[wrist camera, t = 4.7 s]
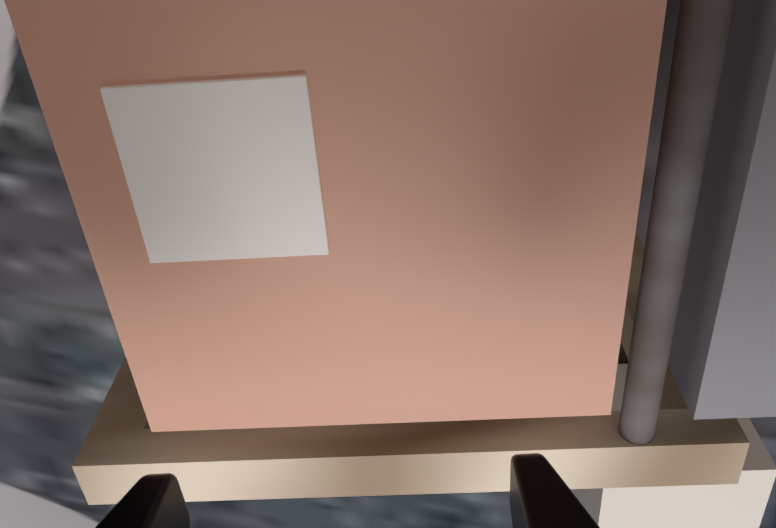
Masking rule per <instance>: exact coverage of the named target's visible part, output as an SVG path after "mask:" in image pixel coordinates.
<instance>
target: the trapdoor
mask: <svg viewBox="0 0 776 528" xmlns="http://www.w3.org/2000/svg"><path fill="white" fill-rule="evenodd" d="M5 3H6V6H7V9H8V12H9V15H10V17H11V21H12V24H13V27H14V30H15V32H16V35H17V38H18V41H19V44H20V47H21V50H22V53H23V56H24V59H25V62H26V65H27V68H28V71H29V74H30V77H31V79H32V82H33V85H34V88H35V91H36V94H37V97H38V100H39V103H40V106H41V109H42V112H43V115H44V118H45V121H46V124H47V126H48V129H49V132H50V135H51V138H52V141H53V144H54V147H55V150H56V153H57V156H58V159H59V162H60V165H61V168H62V171H63V173H64V176H65V179H66V182H67V185H68V188H69V191H70V194H71V197H72V200H73V203H74V206H75V209H76V212H77V215H78V218H79V220H80V223H81V226H82V229H83V232H84V235H85V238H86V241H87V244H88V247H89V250H90V253H91V256H92V259H93V262H94V265H95V267H96V270H97V273H98V276H99V279H100V282H101V285H102V288H103V291H104V294H105V297H106V300H107V303H108V306H109V309H110V312H111V314H112V317H113V320H114V323H115V326H116V329H117V332H118V335H119V338H120V341H121V344H122V347H123V350H124V353H125V356H126V359H127V361H128V364H129V367H130V370H131V373H132V376H133V379H134V382H135V385H136V388H137V391H138V394H139V397H140V400H141V403H142V406H143V408H144V411H145V414H146V417H147V420H148V423H149V426H150V429H151V432H166V431H193V430H220V429H247V428H274V427H301V426H328V425H355V424H382V423H409V422H436V421H463V420H490V419H517V418H544V417H571V416H597V415H611V408H612V401H613V394H614V386H615V379H616V372H617V364H618V357H619V350H620V342H621V335H622V328H623V320H624V313H625V306H626V298H627V291H628V284H629V277H630V269H631V262H632V255H633V247H634V240H635V233H636V225H637V218H638V211H639V203H640V196H641V189H642V181H643V174H644V167H645V159H646V152H647V145H648V137H649V130H650V123H651V115H652V108H653V101H654V93H655V86H656V79H657V71H658V64H659V57H660V50H661V42H662V35H663V28H664V20H665V13H666V6H667V0H5ZM668 366H669V368H670V371H671V373H672V375H673V377H674V379H675V381H676V383H677V386H678V388H679V390H680V392H681V394H682V396H683V398H684V400H685V403H686V405H687V407H688V409H689V411H690V413H691V415H692V418H693V420H697V419H724V418H751V417H776V0H735V4H734V9H733V15H732V20H731V26H730V31H729V36H728V42H727V47H726V53H725V58H724V63H723V69H722V74H721V80H720V85H719V90H718V96H717V101H716V107H715V112H714V117H713V123H712V128H711V133H710V139H709V144H708V150H707V155H706V160H705V166H704V171H703V177H702V182H701V187H700V193H699V198H698V204H697V209H696V214H695V220H694V225H693V231H692V236H691V241H690V247H689V252H688V257H687V263H686V268H685V274H684V279H683V284H682V290H681V295H680V301H679V306H678V311H677V317H676V322H675V328H674V333H673V338H672V344H671V349H670V355H669V360H668Z"/></svg>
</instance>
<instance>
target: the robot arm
mask: <svg viewBox="0 0 776 528" xmlns="http://www.w3.org/2000/svg"><path fill="white" fill-rule="evenodd" d="M510 507H511V516H512V524H513V528H600V527H599V526H598V524H597V523H596V522H595V521H594V519H593V518H592V517H591V515H590V514H589V513H588V512H587V510H586V509H585V508H584V506H583V505H582V504H581V503H580V501H579V500H578V499H577V497H576V496H575V495H574V494H573V492H572V491H571V490H570V488H569V487H568V486H567V485H566V483H565V482H564V481H563V479H562V478H561V477H560V476H559V474H558V473H557V472H556V470H555V469H554V468H553V467H552V465H551V464H550V463H549V461H548V460H547V459H546V458H545V457H544V456H543V455H542V454H540V453H529V454H516V455H514V456H512V458H511V465H510ZM96 528H190V517H189V511H188V508H187V505H186V502H185V499H184V496H183V494H182V491H181V488H180V485H179V482H178V480H177V478H176V476H175V475H173V474H171V473H162V474H148V475H145V476H143V477H142V478H140V479H139V480H138V481H137V482H136V483H135V485H134V486H133V487H132V488H131V489H130V490H129V491H128V492H127V493H126V494H125V496H124V497H123V498H122V499H121V500H120V501H119V502H118V503H117V504H116V505H115V507H114V508H113V509H112V510H111V511H110V512H109V513H108V514H107V515H106V516H105V517H104V519H103V520H102V521H101V522H100V523H99V524H98V525H97V526H96Z"/></svg>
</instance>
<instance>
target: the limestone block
mask: <svg viewBox="0 0 776 528" xmlns="http://www.w3.org/2000/svg"><path fill="white" fill-rule="evenodd" d="M627 366H628V364H617V372H616V379H615V386H614V394H613V401H612V408H611V411H621V407H622V400H623V394H624V387H625V380H626V373H627ZM737 420H738V422H739V424H740V426H741V427H742V429H743V431H744V433H745V435H746V437H747V439H748V440H749V442H750V444H749V447H748V451H747V454H746V458H745V461H744V465H743V468H742V472H741V475H740V479H739V482H738V484H718V485H687V486H656V487H625V488H594V489H570V490H571V491H572V492H573V494H574V495H575V496H576V497H577V499H578V500H579V501H580V503H581V504H582V505H583V506H584V508H585V509H586V510H587V512H588V513H589V514H590V515H591V517H592V518H593V519H594V521H595V522H596V523H597V524H598V526H599V527H600V528H759V526H760V523H761V520H762V517H763V514H764V511H765V508H766V504H767V501H768V498H769V495H770V492H771V489H772V486H773V483H774V480H775V477H776V465H775V464H774V462H773V460H772V458H771V456H770V455H769V453H768V451H767V449H766V448H765V446H764V444H763V442H762V440H761V439H760V437H759V435H758V433H757V432H756V430H755V428H754V426H753V424H752V423H751V421H750V419H749V418H737Z"/></svg>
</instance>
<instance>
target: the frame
mask: <svg viewBox="0 0 776 528" xmlns="http://www.w3.org/2000/svg"><path fill="white" fill-rule="evenodd" d="M734 4H735V0H681V5H680V11H679V18H678V25H677V32H676V39H675V46H674V52H673V59H672V66H671V73H670V80H669V87H668V93H667V100H666V107H665V114H664V121H663V127H662V134H661V141H660V148H659V155H658V162H657V168H656V175H655V182H654V189H653V196H652V202H651V209H650V216H649V223H648V230H647V237H646V243H645V247H644V245H643V244H642V242H641V240H640V238H639V236H638V234H637V232H636V233H635V240H634V247H633V255H632V262H631V269H630V277H629V284H628V291H627V298H626V306H625V313H624V320H623V328H622V335H621V343H622V346H623V348H624V351H625V353H626V356H627V358H628V366H627V373H626V380H625V387H624V394H623V400H622V407H621V411H611V415H597V416H571V417H544V418H517V419H490V420H463V421H436V422H409V423H382V424H355V425H328V426H301V427H274V428H247V429H220V430H193V431H166V432H151V429H150V426H149V423H148V420H147V417H146V414H145V411H144V408H143V406H142V403H141V400H140V397H139V394H138V391H137V388H136V385H135V382H134V379H133V376H132V373H131V370H130V367H129V364H128V361H127V359H126V357H125V359H124V361H123V363H122V365H121V367H120V369H119V371H118V373H117V375H116V377H115V379H114V382H113V384H112V386H111V388H110V390H109V392H108V394H107V396H106V398H105V400H104V402H103V404H102V406H101V408H100V410H99V412H98V414H97V416H96V418H95V420H94V422H93V424H92V426H91V428H90V430H89V432H88V434H87V437H86V439H85V441H84V443H83V445H82V447H81V449H80V451H79V453H78V455H77V457H76V459H75V461H74V463H73V465H72V468H73V470H74V473H75V475H76V477H77V479H78V482H79V484H80V486H81V489H82V491H83V493H84V495H85V498H86V500H87V502H88V505H98V504H117V503H118V502H119V501H120V500H121V499H122V498H123V497H124V496H125V494H126V493H127V492H128V491H129V490H130V489H131V488H132V487H133V486H134V485H135V483H136V482H137V481H138V480H139V479H140V478H142V477H143V476H145V475H148V474H162V473H171V474H173V475H175V476H176V478H177V480H178V482H179V485H180V488H181V491H182V494H183V496H184V499H185V502H191V501H222V500H253V499H284V498H315V497H346V496H377V495H408V494H439V493H470V492H501V491H510V465H511V458H512V456H514V455H516V454H529V453H540V454H542V455H543V456H544V457H545V458H546V459H547V460H548V461H549V463H550V464H551V465H552V467H553V468H554V469H555V470H556V472H557V473H558V474H559V476H560V477H561V478H562V479H563V481H564V482H565V483H566V485H567V486H568V487H569V488H570V489H594V488H625V487H656V486H687V485H718V484H738V482H739V479H740V475H741V472H742V468H743V465H744V461H745V458H746V454H747V451H748V447H749V444H750V442H749V440H748V439H747V437H746V435H745V433H744V431H743V429H742V427H741V426H740V424H739V422H738V420H737V418H724V419H697V420H693V418H692V415H691V413H690V411H689V409H688V407H687V405H686V403H685V400H684V398H683V396H682V394H681V392H680V390H679V388H678V386H677V383H676V381H675V379H674V377H673V375H672V373H671V371H670V368H669V366H668V360H669V355H670V349H671V344H672V338H673V333H674V328H675V322H676V317H677V311H678V306H679V301H680V295H681V290H682V284H683V279H684V274H685V268H686V263H687V257H688V252H689V247H690V241H691V236H692V231H693V225H694V220H695V214H696V209H697V204H698V198H699V193H700V187H701V182H702V177H703V171H704V166H705V160H706V155H707V150H708V144H709V139H710V133H711V128H712V123H713V117H714V112H715V107H716V101H717V96H718V90H719V85H720V80H721V74H722V69H723V63H724V58H725V53H726V47H727V42H728V36H729V31H730V26H731V20H732V15H733V9H734Z"/></svg>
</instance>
